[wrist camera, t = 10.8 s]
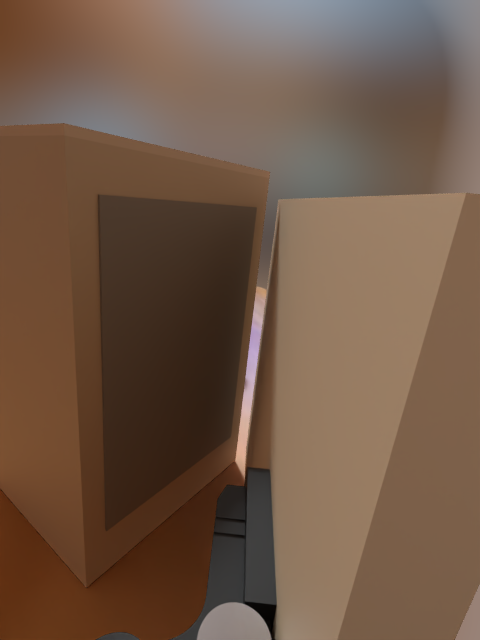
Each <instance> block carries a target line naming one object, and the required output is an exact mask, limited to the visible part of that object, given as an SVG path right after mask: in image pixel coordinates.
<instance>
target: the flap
mask: <svg viewBox="0 0 480 640" xmlns="http://www.w3.org/2000/svg"><path fill="white" fill-rule="evenodd" d="M247 467H254V468H263V469H270V476H271V496H272V516H273V536H274V557H275V577H276V597H277V607H276V612H275V617H274V622H273V627H272V632H271V639H272V640H455V638H456V635H457V633H458V631H459V629H460V627H461V624H462V622H463V620H464V618H465V615H466V613H467V611H468V609H469V606H470V604H471V602H472V600H473V598H474V595H475V593H476V591H477V589H478V586H479V584H480V194H470V193H451V194H422V195H393V196H368V197H367V196H365V197H338V198H309V199H280V200H279V201H278V209H277V217H276V224H275V232H274V240H273V248H272V255H271V263H270V270H269V278H268V286H267V293H266V301H265V308H264V316H263V324H262V331H261V339H260V347H259V354H258V362H257V369H256V377H255V385H254V392H253V400H252V408H251V415H250V423H249V431H248V438H247V446H246V464H245V477H246V470H247Z"/></svg>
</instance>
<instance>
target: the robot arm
mask: <svg viewBox="0 0 480 640" xmlns="http://www.w3.org/2000/svg"><path fill="white" fill-rule="evenodd" d="M276 607H277V597H276V577H275V557H274V536H273V516H272V496H271V476H270V469H263V468H254V467H247V470H246V477H245V484H244V486H234V485H227V486H226V487H225V489H224V490H223V492H222V493H221V495H220V496H219V498H218V501H217V509H216V518H215V526H214V535H213V543H212V552H211V560H210V569H209V577H208V585H207V594H206V600H205V604H204V607H203V610H202V612H201V614H200V616H199V617H198V619H197V620H196V622H195V623H194V624H193V625H192V626H191V627H190V628H189V629H188V630H187V631H185V632H184V633H182V634H181V635H179V636H177V637H175V638H172V639H170V640H272V639H271V632H272V627H273V622H274V617H275V612H276ZM96 640H139V639H138V638H137V637H135V636H134V635H132V634H128V633H123V632H116V633H110V634H107V635H104V636H102V637H100V638H98V639H96Z"/></svg>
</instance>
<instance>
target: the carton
mask: <svg viewBox="0 0 480 640" xmlns="http://www.w3.org/2000/svg"><path fill="white" fill-rule="evenodd" d="M269 176H270V172H268V171H264V170H260V169H255V168H251V167H247V166H243V165H239V164H234V163H230V162H226V161H221V160H217V159H213V158H209V157H205V156H200V155H196V154H192V153H187V152H183V151H179V150H175V149H171V148H166V147H162V146H158V145H154V144H149V143H145V142H141V141H137V140H132V139H128V138H124V137H120V136H115V135H111V134H107V133H103V132H98V131H94V130H90V129H86V128H82V127H77V126H73V125H69V124H64V123H61V124H37V125H14V126H0V489H1V490H2V491H3V492H4V494H5V495H6V496H7V497H8V498H9V499H10V501H11V502H12V503H13V504H14V505H15V506H16V507H17V509H18V510H19V511H20V512H21V513H22V514H23V515H24V517H25V518H26V519H27V520H28V521H29V522H30V524H31V525H32V526H33V527H34V528H35V529H36V530H37V532H38V533H39V534H40V535H41V536H42V537H43V539H44V540H45V541H46V542H47V543H48V544H49V545H50V547H51V548H52V549H53V550H54V551H55V552H56V553H57V555H58V556H59V557H60V558H61V559H62V560H63V562H64V563H65V564H66V565H67V566H68V567H69V568H70V570H71V571H72V572H73V573H74V574H75V575H76V577H77V578H78V579H79V580H80V581H81V582H82V583H83V585H84V586H85V587H86V588H87V587H88V586H89V585H90V584H92V583H93V582H94V581H95V580H96V579H97V578H99V577H100V576H101V575H102V574H103V573H104V572H106V571H107V570H108V569H109V568H110V567H111V566H113V565H114V564H115V563H116V562H117V561H118V560H120V559H121V558H122V557H123V556H124V555H125V554H127V553H128V552H129V551H130V550H131V549H132V548H134V547H135V546H136V545H137V544H138V543H139V542H141V541H142V540H143V539H144V538H145V537H146V536H148V535H149V534H150V533H151V532H152V531H153V530H155V529H156V528H157V527H158V526H159V525H160V524H162V523H163V522H164V521H165V520H166V519H167V518H169V517H170V516H171V515H172V514H173V513H174V512H176V511H177V510H178V509H179V508H180V507H181V506H183V505H184V504H185V503H186V502H187V501H188V500H190V499H191V498H192V497H193V496H194V495H195V494H197V493H198V492H199V491H200V490H201V489H202V488H204V487H205V486H206V485H207V484H208V483H209V482H211V481H212V480H213V479H214V478H215V477H216V476H218V475H219V474H220V473H221V472H222V471H223V470H225V469H226V468H227V467H228V466H229V465H230V464H232V463H233V462H234V461H235V458H236V450H237V442H238V433H239V425H240V417H241V409H242V400H243V392H244V384H245V375H246V367H247V359H248V351H249V342H250V334H251V326H252V317H253V309H254V301H255V293H256V284H257V275H258V268H259V259H260V251H261V242H262V234H263V226H264V218H265V210H266V201H267V193H268V184H269Z"/></svg>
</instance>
